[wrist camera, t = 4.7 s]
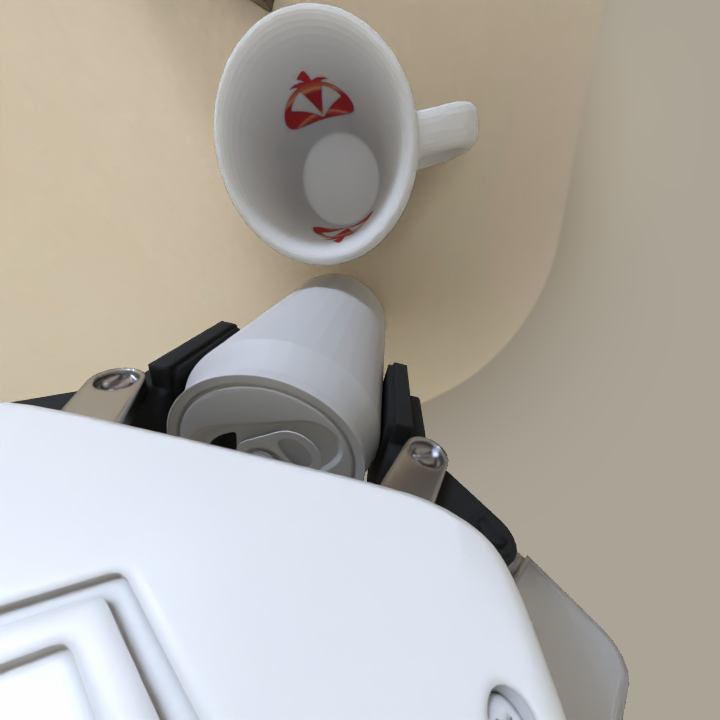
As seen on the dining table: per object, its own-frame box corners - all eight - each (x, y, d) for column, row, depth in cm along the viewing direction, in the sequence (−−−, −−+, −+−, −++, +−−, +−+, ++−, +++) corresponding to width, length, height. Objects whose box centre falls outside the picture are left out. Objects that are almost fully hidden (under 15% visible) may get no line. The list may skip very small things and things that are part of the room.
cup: (446, 64, 14) (508, -94, 7) (455, 226, 18) (502, 227, 11) (264, 125, 16) (169, 47, 9) (304, 261, 19) (258, 282, 12)
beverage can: (274, 297, 18) (98, 411, 7) (361, 253, 16) (299, 318, 5) (321, 373, 20) (242, 544, 9) (400, 343, 18) (414, 513, 8)
